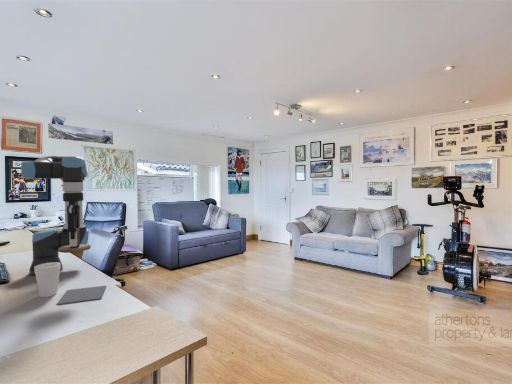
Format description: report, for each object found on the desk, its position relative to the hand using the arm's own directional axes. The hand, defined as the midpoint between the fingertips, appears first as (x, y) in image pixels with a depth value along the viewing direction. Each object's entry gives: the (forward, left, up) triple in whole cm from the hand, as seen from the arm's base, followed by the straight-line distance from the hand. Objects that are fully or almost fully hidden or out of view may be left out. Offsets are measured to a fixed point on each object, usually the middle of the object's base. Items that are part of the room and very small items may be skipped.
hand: (74, 245), depth 126 cm
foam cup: (-5, -12, -22) cm, 26 cm away
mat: (+2, +3, -22) cm, 22 cm away
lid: (0, 0, -2) cm, 2 cm away
